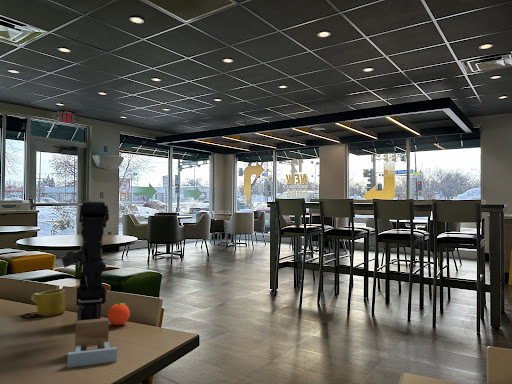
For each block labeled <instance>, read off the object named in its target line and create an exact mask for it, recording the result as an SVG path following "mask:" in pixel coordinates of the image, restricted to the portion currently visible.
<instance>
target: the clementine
mask: <svg viewBox="0 0 512 384" xmlns="http://www.w3.org/2000/svg"><path fill="white" fill-rule="evenodd" d="M128 306H129V307H130V308H132V307H131V305H130V304H128V305H127V303H124V302H123V303H122V302H121V303H120V302H119V303H115V304H113V305H112V306H111V307H110V308H109V309H108V311H107V318H108V319H109V324H112V325H114V326H122V325H124V324H125V323H127V321H128V320H129V318H130V315H131V312H130V310H131V309H130V308H129V307H128Z"/></svg>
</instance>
